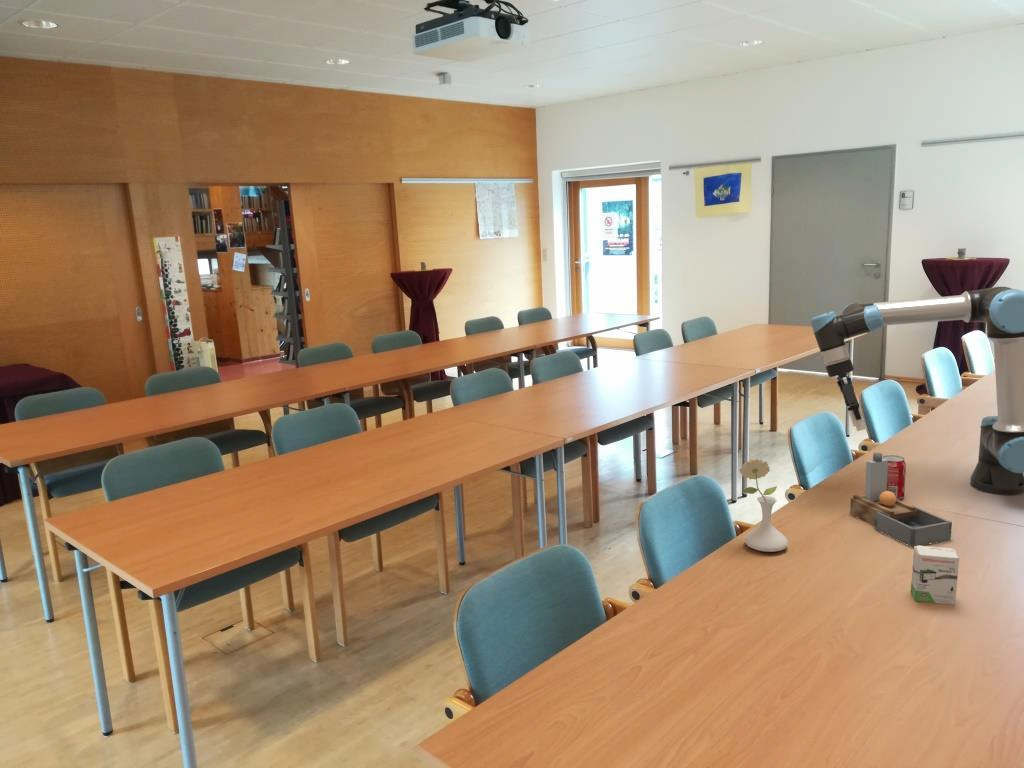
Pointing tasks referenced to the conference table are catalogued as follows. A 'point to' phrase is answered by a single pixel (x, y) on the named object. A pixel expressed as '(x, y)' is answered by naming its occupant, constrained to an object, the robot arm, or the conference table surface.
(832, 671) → the conference table surface
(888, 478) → the soda can
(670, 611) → the conference table surface
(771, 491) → the flower in vase
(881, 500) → the ball
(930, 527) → the tray
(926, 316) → the robot arm
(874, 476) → the block with cylinder top
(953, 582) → the ink box
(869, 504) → the wooden box
